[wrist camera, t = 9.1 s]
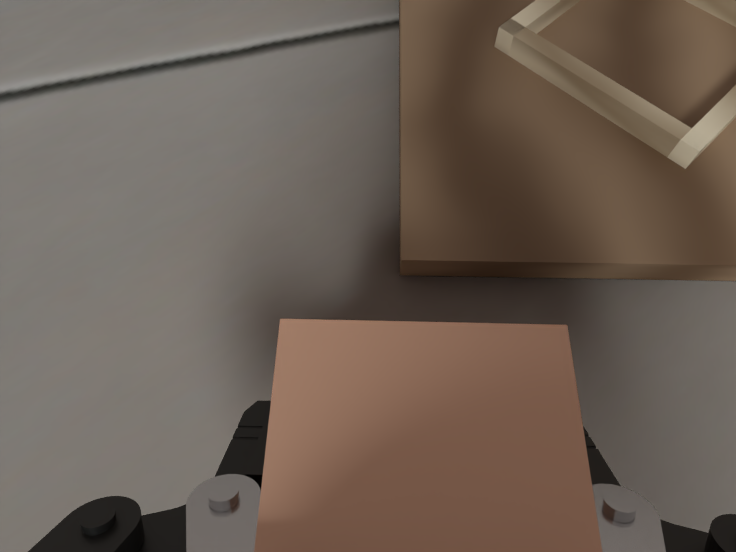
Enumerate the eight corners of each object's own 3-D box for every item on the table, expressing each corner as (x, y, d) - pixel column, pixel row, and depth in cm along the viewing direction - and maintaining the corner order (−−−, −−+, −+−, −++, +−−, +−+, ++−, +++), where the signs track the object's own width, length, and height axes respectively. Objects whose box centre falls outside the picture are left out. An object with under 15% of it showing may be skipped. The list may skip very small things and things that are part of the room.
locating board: (794, -70, 29) (893, -214, 24) (1002, 285, 19) (1257, 181, 14) (399, -71, 30) (404, -211, 24) (399, 275, 20) (408, 170, 14)
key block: (476, 426, 17) (567, 324, 9) (488, 606, 15) (623, 683, 7) (324, 422, 17) (280, 318, 9) (313, 600, 15) (241, 668, 7)
